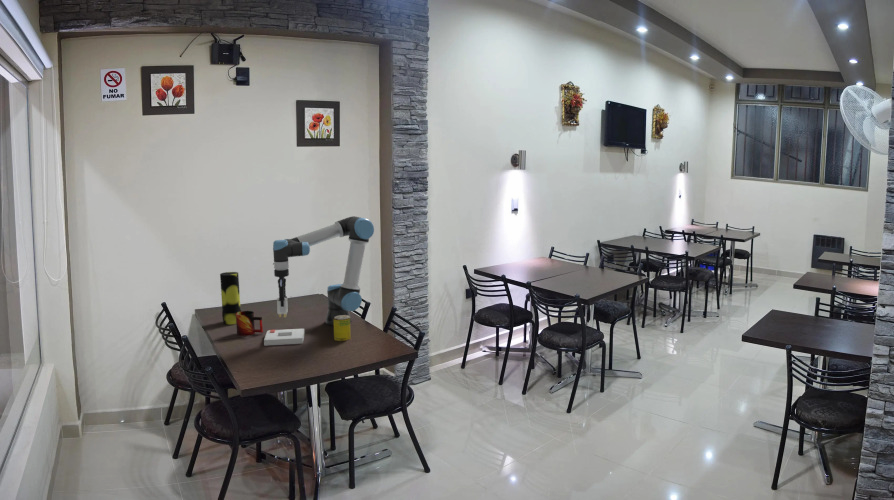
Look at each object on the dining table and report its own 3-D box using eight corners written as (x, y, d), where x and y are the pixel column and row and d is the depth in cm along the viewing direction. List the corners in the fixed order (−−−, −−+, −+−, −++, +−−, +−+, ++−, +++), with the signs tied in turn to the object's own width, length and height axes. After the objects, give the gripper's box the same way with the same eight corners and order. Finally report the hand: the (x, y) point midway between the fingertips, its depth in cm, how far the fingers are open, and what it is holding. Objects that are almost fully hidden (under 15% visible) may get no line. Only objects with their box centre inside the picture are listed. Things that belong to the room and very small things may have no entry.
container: (226, 325, 365) (223, 276, 360) (220, 322, 373) (217, 273, 368) (244, 322, 371) (241, 273, 367) (237, 318, 380) (234, 271, 375)
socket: (304, 333, 349) (304, 327, 348) (302, 343, 331) (302, 336, 331) (267, 335, 345) (267, 329, 345) (264, 345, 328) (263, 339, 327)
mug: (262, 334, 348) (261, 313, 346) (237, 336, 344) (235, 316, 342) (262, 329, 357) (261, 309, 355) (237, 332, 353) (235, 311, 351)
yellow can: (354, 337, 342) (353, 316, 340) (343, 341, 334) (343, 320, 332) (341, 335, 346) (340, 314, 344) (330, 339, 338) (329, 318, 336)
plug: (287, 315, 338) (287, 297, 337) (287, 317, 335) (286, 299, 333) (278, 315, 338) (277, 297, 336) (277, 317, 334) (277, 299, 332)
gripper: (275, 266, 340) (277, 307, 343) (272, 272, 323) (274, 315, 327) (289, 265, 341) (291, 307, 345) (287, 271, 324) (289, 314, 328)
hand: (283, 311), depth 336 cm, fingers closed on plug, 4 cm apart
